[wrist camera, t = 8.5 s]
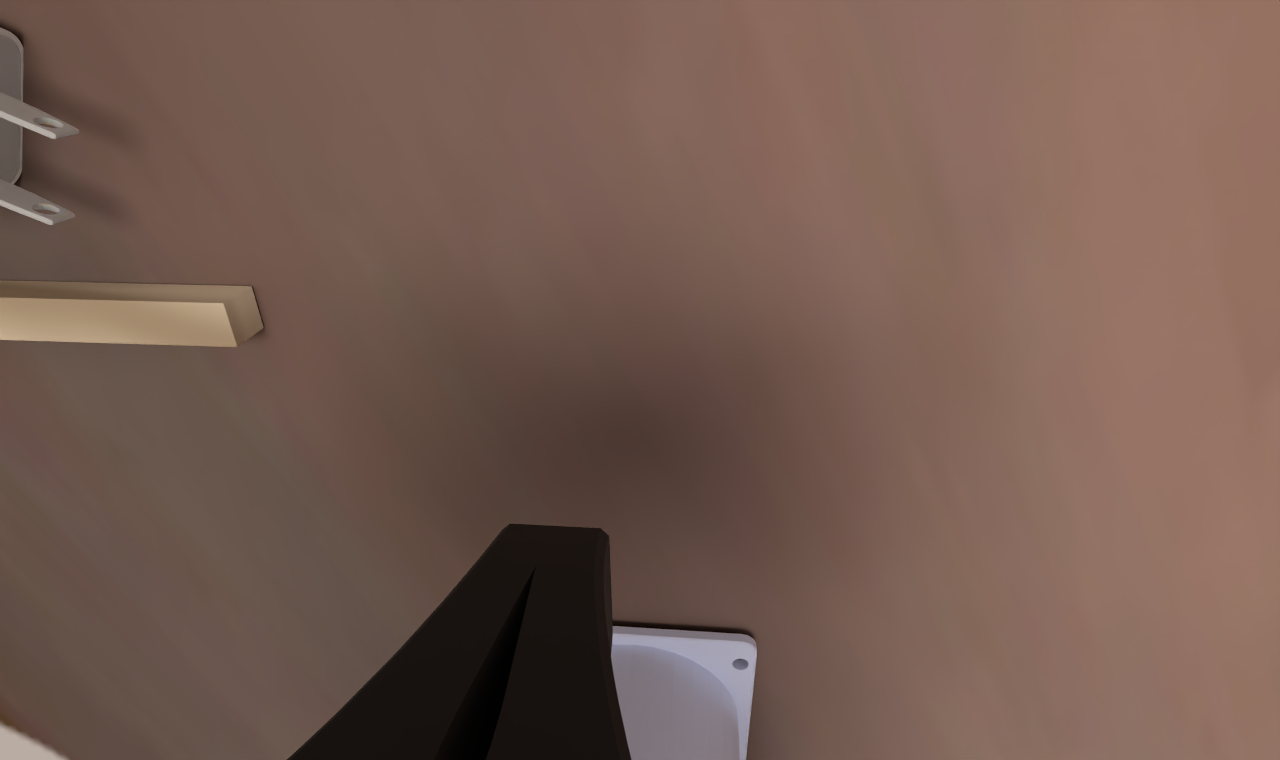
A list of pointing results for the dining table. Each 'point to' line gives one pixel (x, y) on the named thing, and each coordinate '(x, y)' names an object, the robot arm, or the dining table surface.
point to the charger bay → (128, 313)
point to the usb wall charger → (3, 130)
